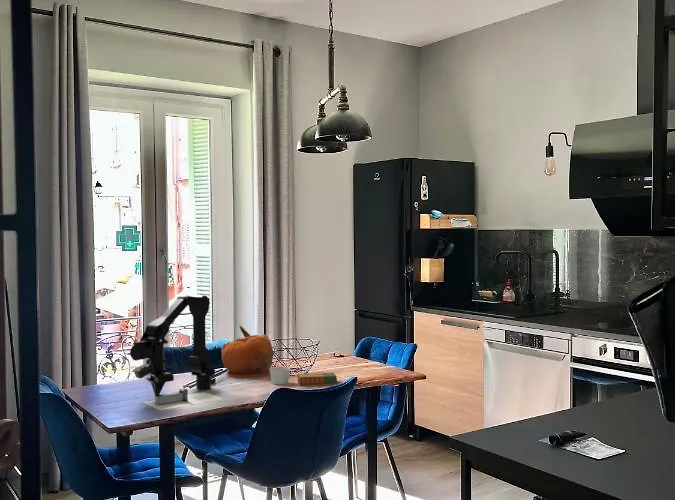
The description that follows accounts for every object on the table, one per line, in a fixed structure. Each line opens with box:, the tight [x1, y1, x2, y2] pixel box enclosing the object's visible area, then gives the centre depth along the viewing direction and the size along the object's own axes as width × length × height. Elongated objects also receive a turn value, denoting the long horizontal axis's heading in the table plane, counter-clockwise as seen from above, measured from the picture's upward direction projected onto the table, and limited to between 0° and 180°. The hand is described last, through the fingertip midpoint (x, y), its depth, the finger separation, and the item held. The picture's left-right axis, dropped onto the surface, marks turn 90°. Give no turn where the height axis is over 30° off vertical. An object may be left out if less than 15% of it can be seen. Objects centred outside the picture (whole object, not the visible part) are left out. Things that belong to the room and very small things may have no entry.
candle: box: [269, 366, 291, 385], centre depth 295 cm, size 9×9×6 cm
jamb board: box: [142, 391, 224, 411], centre depth 261 cm, size 16×26×1 cm, turn 128°
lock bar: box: [154, 388, 189, 405], centre depth 258 cm, size 13×3×4 cm, turn 128°
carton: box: [297, 372, 338, 387], centre depth 293 cm, size 8×16×4 cm, turn 101°
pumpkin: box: [220, 324, 275, 379], centre depth 316 cm, size 22×25×23 cm
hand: (156, 396), depth 261 cm, fingers closed
